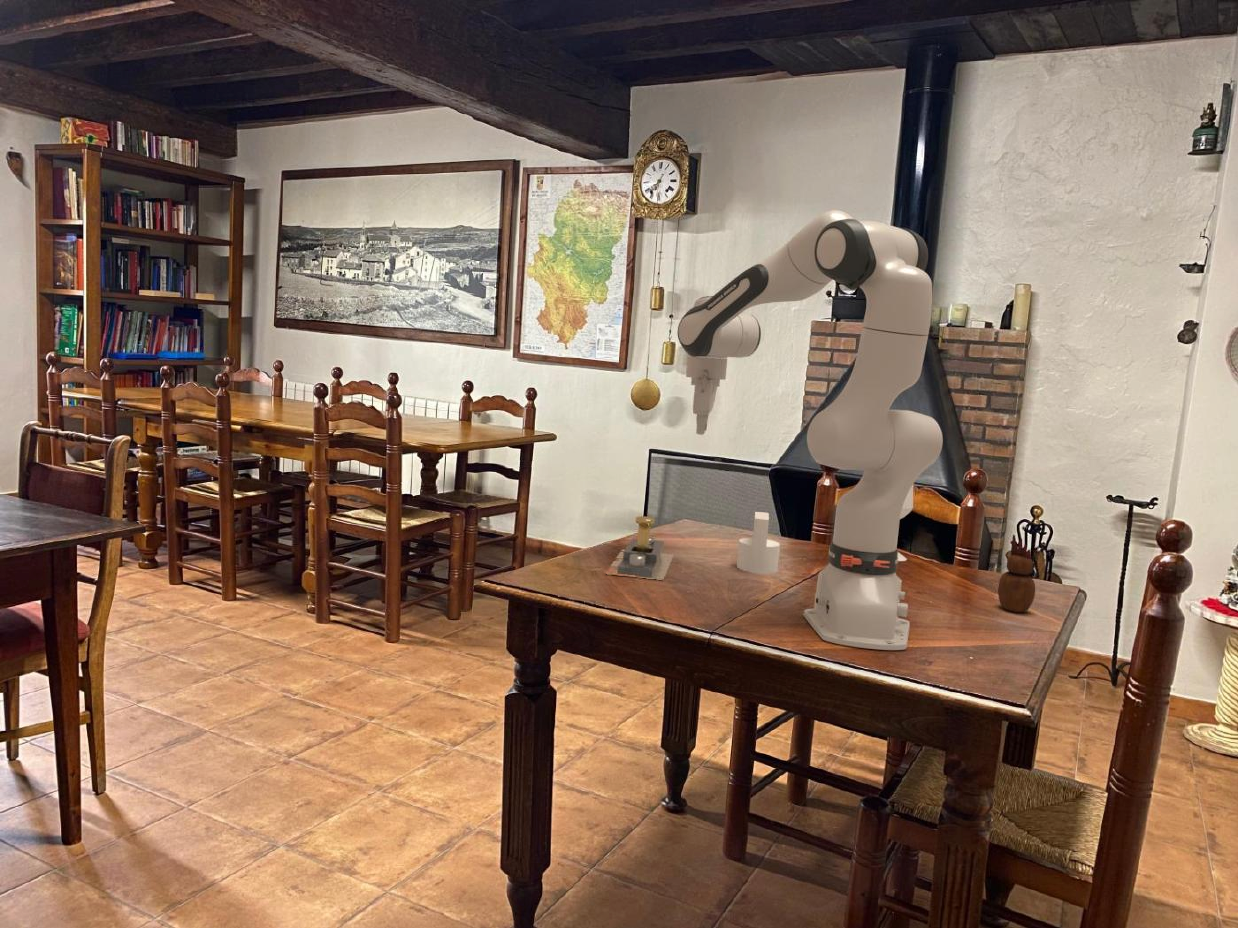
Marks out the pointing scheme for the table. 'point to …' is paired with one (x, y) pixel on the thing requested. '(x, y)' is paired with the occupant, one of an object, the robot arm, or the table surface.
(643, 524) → the brass pin
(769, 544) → the cylinder with rectangular tab
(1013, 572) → the wooden figurine
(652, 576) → the two-knob base plate
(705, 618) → the table surface
